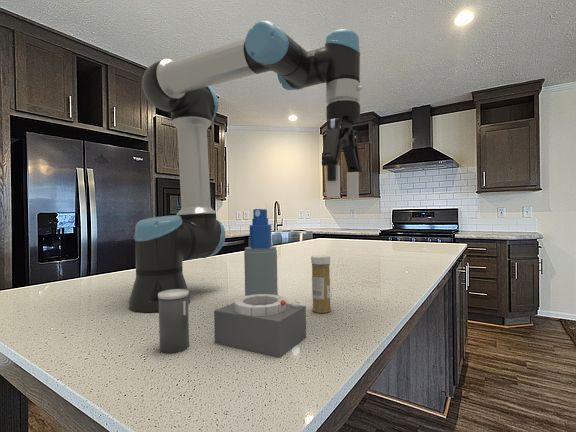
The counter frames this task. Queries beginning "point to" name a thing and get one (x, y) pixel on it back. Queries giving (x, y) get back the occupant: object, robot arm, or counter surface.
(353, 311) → the counter surface
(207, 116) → the robot arm
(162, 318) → the grey cylinder
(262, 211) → the spray bottle
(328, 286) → the sprinkles bottle
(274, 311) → the grey block with ring
